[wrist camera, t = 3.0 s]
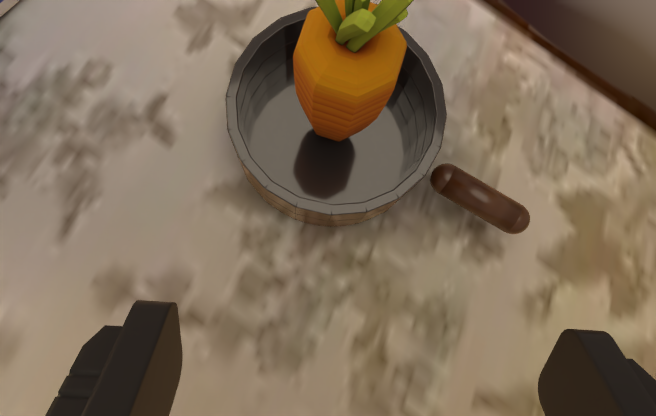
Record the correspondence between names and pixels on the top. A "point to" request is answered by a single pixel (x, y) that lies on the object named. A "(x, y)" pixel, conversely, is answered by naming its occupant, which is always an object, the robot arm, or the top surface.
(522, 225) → the pan handle
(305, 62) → the carrot
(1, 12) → the hard drive
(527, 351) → the top surface
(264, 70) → the pan
